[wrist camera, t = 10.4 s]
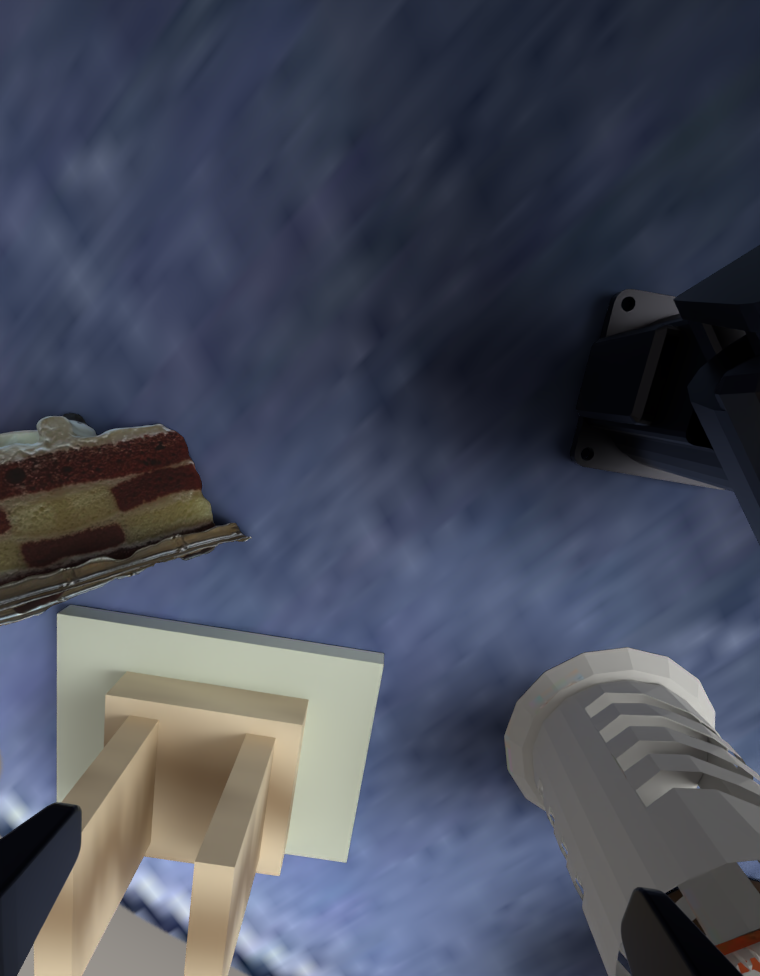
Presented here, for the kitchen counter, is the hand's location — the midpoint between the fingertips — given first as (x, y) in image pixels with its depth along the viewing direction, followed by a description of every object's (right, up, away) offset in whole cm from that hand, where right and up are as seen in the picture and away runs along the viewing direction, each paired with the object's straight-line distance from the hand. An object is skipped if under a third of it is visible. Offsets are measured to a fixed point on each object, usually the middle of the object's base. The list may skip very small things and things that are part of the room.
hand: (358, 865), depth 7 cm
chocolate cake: (-12, +6, +12) cm, 17 cm away
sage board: (-7, -6, +14) cm, 16 cm away
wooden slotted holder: (-7, -6, +13) cm, 16 cm away
